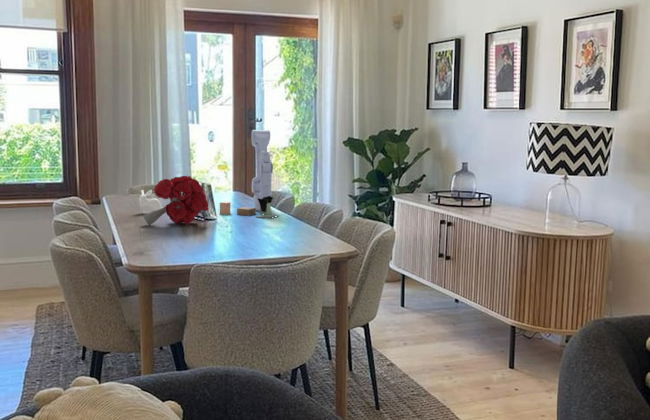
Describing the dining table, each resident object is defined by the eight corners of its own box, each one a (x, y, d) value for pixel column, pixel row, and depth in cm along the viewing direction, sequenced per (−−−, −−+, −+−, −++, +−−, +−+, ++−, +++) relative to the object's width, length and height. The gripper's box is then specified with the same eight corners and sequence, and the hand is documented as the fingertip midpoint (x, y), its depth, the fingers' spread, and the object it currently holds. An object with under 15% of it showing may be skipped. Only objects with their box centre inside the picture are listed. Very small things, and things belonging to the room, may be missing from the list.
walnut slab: (244, 213, 344) (244, 206, 344) (255, 214, 341) (255, 208, 341) (237, 214, 338) (237, 208, 337) (248, 216, 335) (248, 209, 334)
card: (265, 215, 338) (265, 213, 338) (279, 216, 335) (279, 215, 335) (255, 217, 329) (255, 216, 329) (269, 219, 326) (269, 217, 326)
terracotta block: (223, 212, 342) (224, 201, 341) (230, 213, 340) (230, 202, 339) (219, 213, 338) (219, 202, 337) (226, 214, 336) (226, 203, 336)
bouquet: (161, 244, 287) (219, 209, 295) (133, 198, 281) (193, 164, 290) (156, 238, 307) (210, 206, 316) (129, 196, 301) (185, 164, 310)
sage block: (263, 213, 344) (264, 202, 343) (270, 214, 343) (270, 202, 342) (260, 214, 341) (260, 203, 340) (266, 215, 339) (266, 203, 338)
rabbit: (139, 214, 327) (139, 190, 326) (138, 211, 336) (138, 188, 334) (163, 214, 331) (163, 190, 329) (162, 211, 340) (162, 188, 338)
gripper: (263, 183, 347) (263, 208, 349) (253, 186, 333) (253, 212, 335) (275, 184, 346) (275, 209, 347) (266, 187, 332) (265, 213, 334)
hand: (265, 211), depth 341 cm, fingers closed on sage block, 4 cm apart
